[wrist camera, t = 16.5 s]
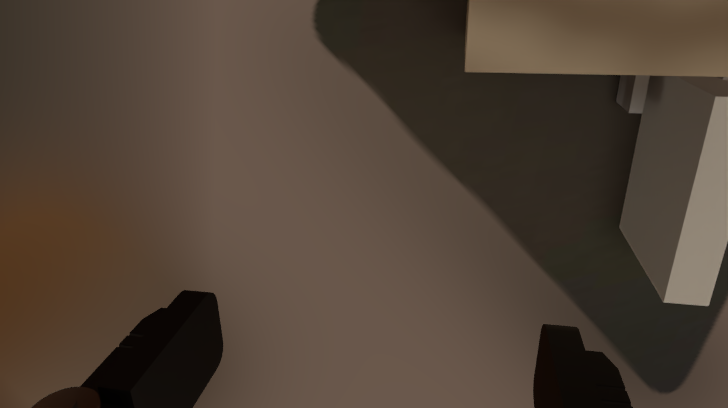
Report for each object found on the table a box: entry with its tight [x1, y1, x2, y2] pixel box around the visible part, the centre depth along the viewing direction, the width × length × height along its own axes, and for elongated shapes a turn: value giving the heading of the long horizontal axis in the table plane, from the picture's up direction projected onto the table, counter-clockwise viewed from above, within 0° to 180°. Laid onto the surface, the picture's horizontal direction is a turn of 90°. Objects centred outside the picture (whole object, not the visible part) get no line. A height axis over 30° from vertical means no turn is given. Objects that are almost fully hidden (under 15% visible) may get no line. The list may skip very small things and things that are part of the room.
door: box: [619, 75, 728, 306], centre depth 33 cm, size 12×4×10 cm, turn 1°
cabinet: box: [465, 0, 728, 113], centre depth 28 cm, size 10×16×14 cm, turn 91°
